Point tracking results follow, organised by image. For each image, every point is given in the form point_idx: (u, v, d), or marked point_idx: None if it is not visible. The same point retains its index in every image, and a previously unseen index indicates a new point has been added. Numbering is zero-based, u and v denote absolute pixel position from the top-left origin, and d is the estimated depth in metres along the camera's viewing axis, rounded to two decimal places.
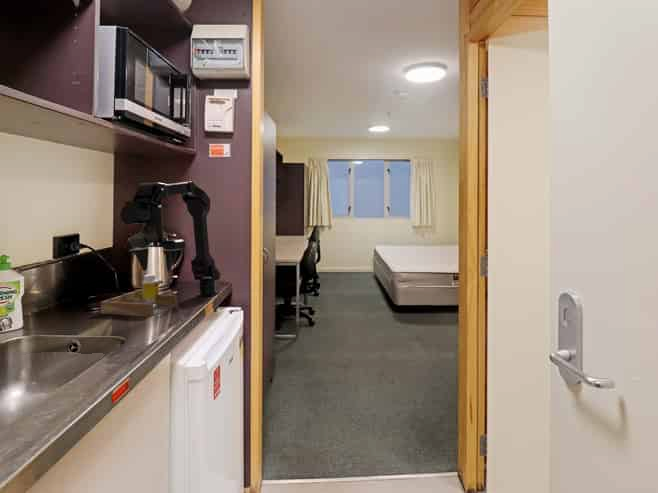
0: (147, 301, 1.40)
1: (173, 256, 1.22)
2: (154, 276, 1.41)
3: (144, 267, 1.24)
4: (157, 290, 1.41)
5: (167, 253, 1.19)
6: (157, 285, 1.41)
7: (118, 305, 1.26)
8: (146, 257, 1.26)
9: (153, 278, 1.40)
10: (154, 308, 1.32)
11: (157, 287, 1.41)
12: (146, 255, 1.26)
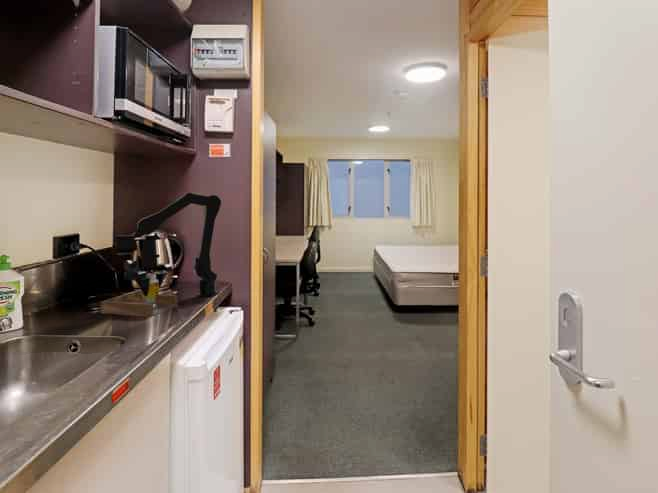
0: (147, 301, 1.40)
1: (144, 284, 1.37)
2: (154, 276, 1.41)
3: None
4: (157, 290, 1.41)
5: None
6: (157, 285, 1.41)
7: (118, 305, 1.26)
8: (159, 281, 1.44)
9: (153, 278, 1.40)
10: (154, 308, 1.32)
11: (157, 287, 1.41)
12: (159, 279, 1.44)
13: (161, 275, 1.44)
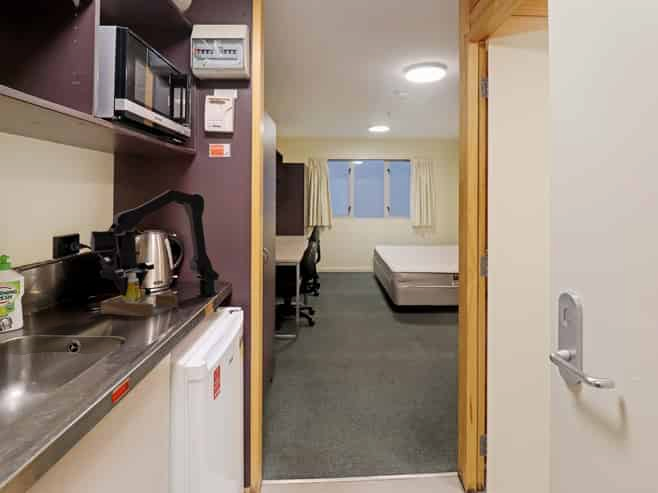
0: (126, 301, 1.30)
1: (122, 283, 1.27)
2: (133, 275, 1.31)
3: None
4: (137, 289, 1.32)
5: None
6: (137, 284, 1.32)
7: (118, 305, 1.26)
8: (140, 280, 1.35)
9: (132, 277, 1.31)
10: (154, 308, 1.32)
11: (137, 286, 1.32)
12: (140, 278, 1.34)
13: (141, 274, 1.34)
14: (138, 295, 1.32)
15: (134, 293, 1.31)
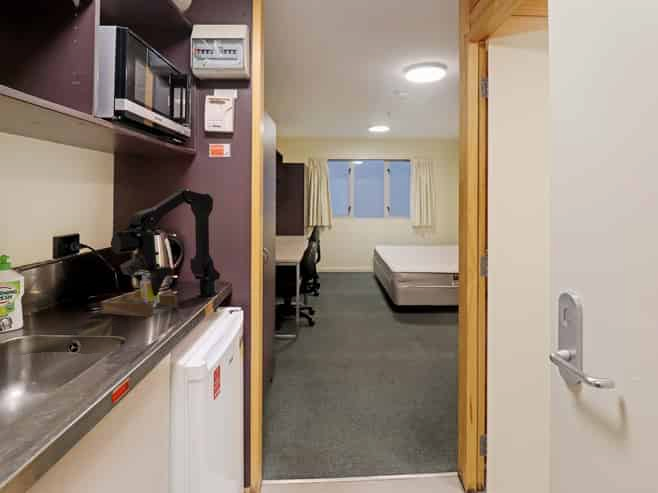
0: (156, 301, 1.29)
1: (159, 282, 1.28)
2: None
3: None
4: None
5: (151, 279, 1.25)
6: None
7: (118, 305, 1.26)
8: None
9: None
10: (154, 308, 1.32)
11: None
12: None
13: None
14: None
15: None
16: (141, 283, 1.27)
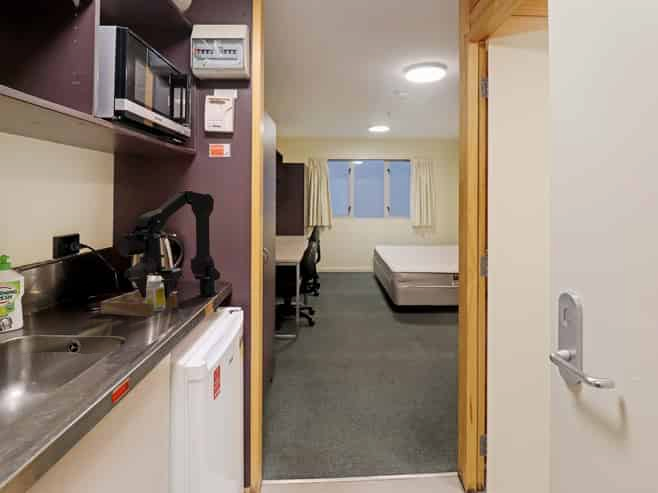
0: (164, 307, 1.30)
1: (171, 284, 1.29)
2: None
3: (143, 294, 1.31)
4: None
5: (165, 282, 1.25)
6: None
7: (118, 305, 1.26)
8: (145, 284, 1.32)
9: None
10: None
11: None
12: (145, 282, 1.32)
13: (146, 277, 1.33)
14: None
15: None
16: (149, 289, 1.27)
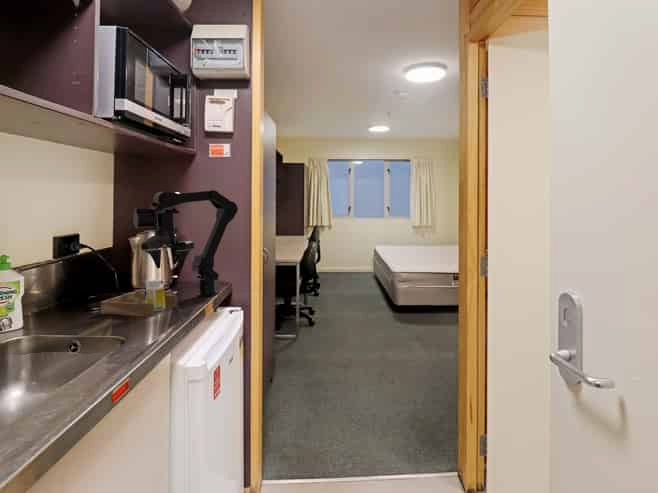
0: (164, 307, 1.30)
1: (183, 255, 1.40)
2: None
3: (158, 265, 1.42)
4: None
5: (179, 253, 1.37)
6: None
7: (118, 305, 1.26)
8: (159, 256, 1.43)
9: None
10: None
11: None
12: (159, 255, 1.43)
13: (160, 250, 1.44)
14: None
15: None
16: (149, 290, 1.27)
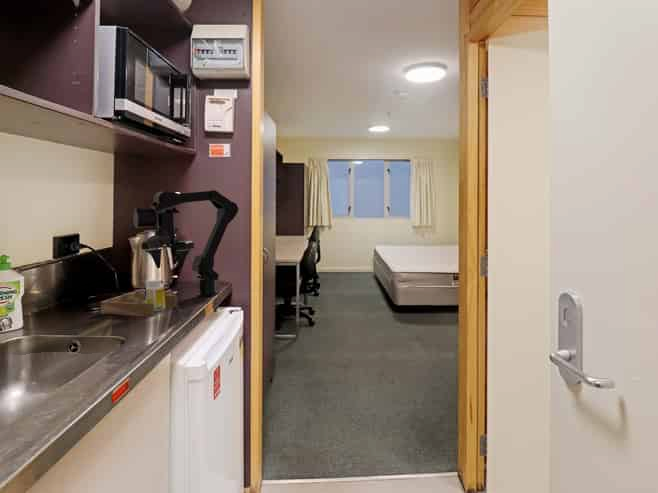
0: (164, 307, 1.30)
1: (183, 255, 1.40)
2: None
3: (158, 265, 1.42)
4: None
5: (178, 253, 1.37)
6: None
7: (118, 305, 1.26)
8: (159, 256, 1.43)
9: None
10: None
11: None
12: (159, 254, 1.43)
13: (160, 250, 1.44)
14: None
15: None
16: (149, 290, 1.27)
